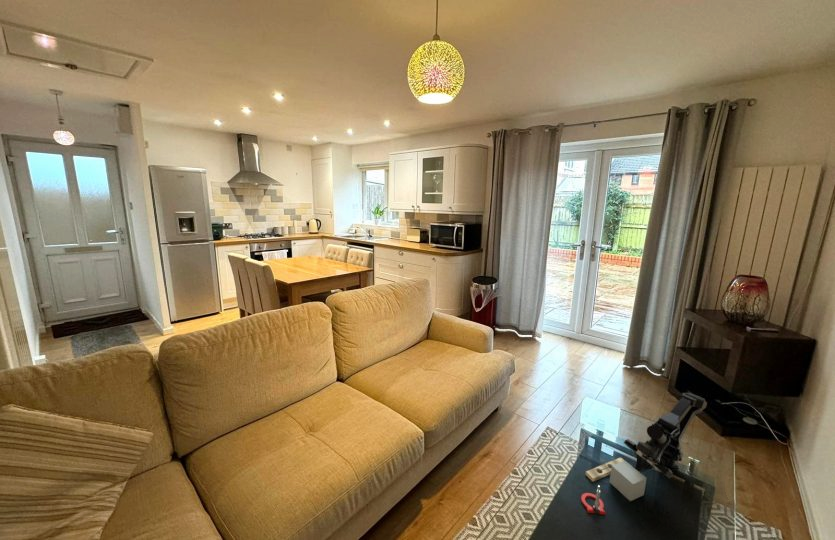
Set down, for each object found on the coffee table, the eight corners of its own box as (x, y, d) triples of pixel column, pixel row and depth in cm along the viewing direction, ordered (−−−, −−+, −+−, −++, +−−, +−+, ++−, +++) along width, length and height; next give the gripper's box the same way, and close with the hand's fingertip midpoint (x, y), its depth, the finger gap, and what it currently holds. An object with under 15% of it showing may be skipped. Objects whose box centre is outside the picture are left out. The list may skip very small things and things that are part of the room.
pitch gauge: (620, 460, 158) (620, 457, 157) (627, 466, 154) (628, 463, 154) (585, 474, 151) (586, 471, 150) (592, 481, 147) (593, 478, 146)
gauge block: (622, 476, 149) (624, 460, 147) (643, 495, 140) (646, 478, 138) (609, 482, 146) (611, 465, 144) (630, 501, 137) (633, 484, 135)
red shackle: (578, 493, 142) (585, 513, 133) (580, 468, 139) (588, 486, 130) (598, 496, 141) (607, 516, 132) (601, 470, 138) (611, 489, 129)
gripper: (629, 423, 149) (608, 450, 148) (672, 453, 132) (649, 483, 131) (639, 433, 154) (619, 459, 153) (682, 463, 137) (660, 493, 135)
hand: (635, 473), depth 143 cm, fingers closed, pressing on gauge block
